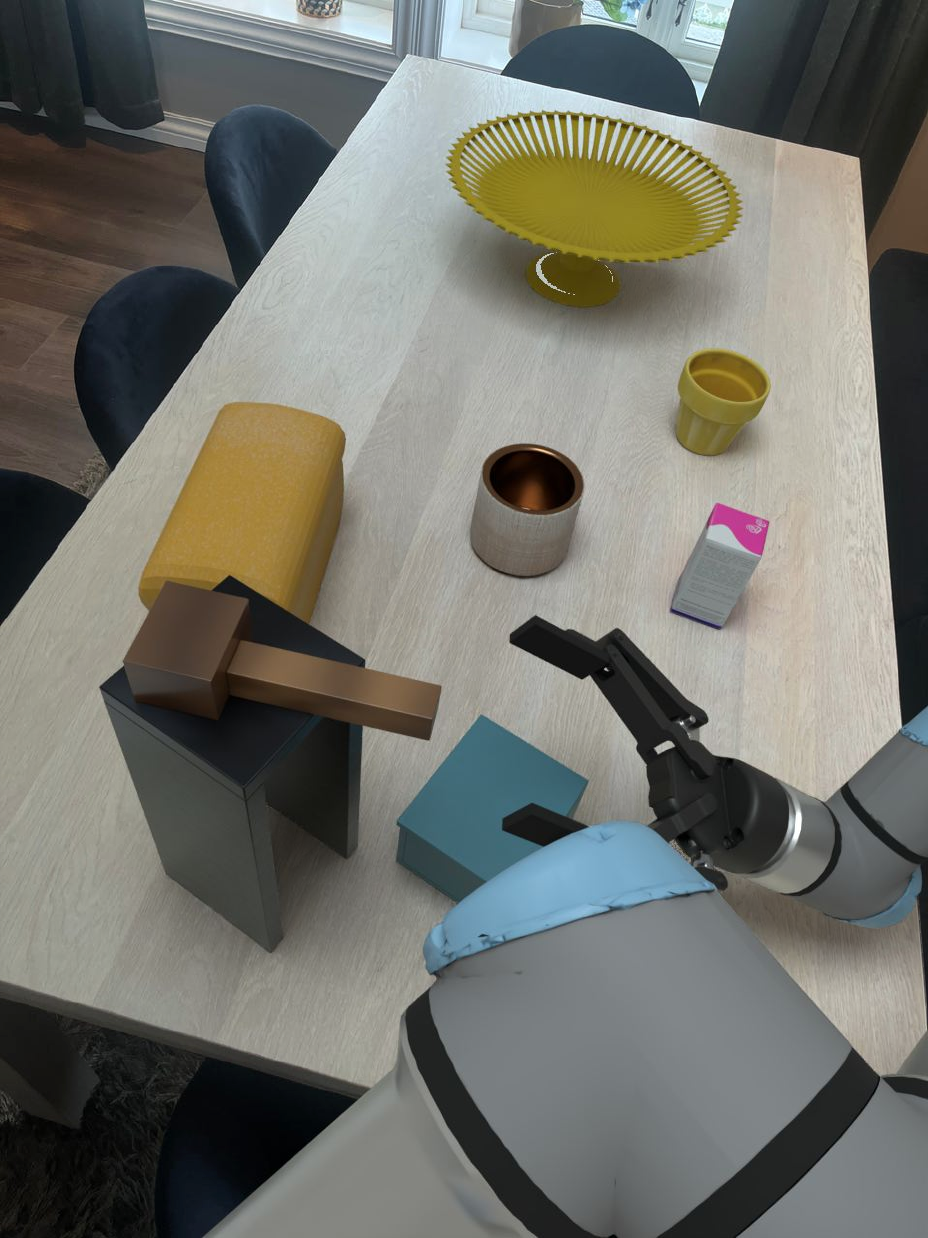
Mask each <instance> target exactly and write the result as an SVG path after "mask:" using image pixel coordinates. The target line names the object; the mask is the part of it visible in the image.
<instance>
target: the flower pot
mask: <svg viewBox="0 0 928 1238" xmlns="http://www.w3.org/2000/svg"><path fill="white" fill-rule="evenodd" d="M680 373H681V374H680V376H679V380H678V384H677V392H678V395H679V405H678V413H677V419H676V426H675V427H676V428H675V435H676V439H677V440H678V442H679V444H681V445H682V446H683V447H684V448H685V449H686V450H689V451H690V452H692V453H695V454H697V455H701V456H716V455H719V454H722V453H723V452H725V451H726V450H727V448H728V447H729V446H730V445H731V444H732V442H733V440H734V439H735V438H736V437H737V435H738V434H739V433H740V432H741V431H742V430H743V428H744V427H745V425H746V424H747V423H749V422H751V421H753V420H754V419H755V418H757V416H758V415H759V414H760V412H761V410H762V409H763V407H764V405H765V404H766V401H767V399H768V397H769V395H770V392H771V386H772V385H771V380H770V377H769V375H768V373H767V372H766V370H765V369H764V368H763V367H762V366H761V365H760V364H759V363H757V362H756V361H755V360H754V359H752V358H750V357H748V356H747V355H744V354H742V353H740V352H736V351H734V350H730V349H726V348H715V347H714V348H712V347H709V348H704V349H699V350H698V351H695V352H694V353H692V354H690V355H689V357H688V358H687V359H686V361H685V363H684V365H683V368H682V371H681V372H680Z"/></svg>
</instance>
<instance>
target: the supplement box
mask: <svg viewBox="0 0 928 1238" xmlns="http://www.w3.org/2000/svg"><path fill="white" fill-rule="evenodd" d="M769 527H770V520H768V519H765V518H763V517H760V516H756V515H754V514H750V513H747V512H745V511H742V510H740V509H736V508H733V507H730V506H728V505H725V504H722V503H720V502H716V503H715V504H714V506H713V508H712V510H711V512H710V514H709V516H708V518H707V520H706V522H705V525H704V527H703V529H702V530H701V533H700V535H699V537H698V539H697V541H696V543H695V546H694V548H693V550H692V552H691V554H690V555H689V556H688V560H687V562H686V564H685V566H684V568H683V570H682V572H681V574H680V576H679V578H678V580H677V584H676V587H675V591H674V593H673V597H672V601H671V604H670V608H669V612H670V613H673V614H674V615H677V616H680V617H683V618H686V619H689V620H692V621H695V622H698V623H700V624H702V625H706V626H709V627H711V628H714V629H717V630H721V629H722V628H723V627H724V625H725V623H726V621H727V620H728V618H729V617H730V614H732V611H733V610H734V607H735V605H736V604H737V602H738V600H739V599H740V597H741V595H742V593H743V592H744V590H745V588H746V586H747V584H748V583H749V581H750V579H751V578H752V576H753V574H754V572H755V571H756V568H757V567H758V565H759V563H760V561H761V560H762V557H763V554H764V550H765V544H766V540H767V535H768V531H769Z"/></svg>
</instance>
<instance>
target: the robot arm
mask: <svg viewBox="0 0 928 1238" xmlns="http://www.w3.org/2000/svg"><path fill="white" fill-rule="evenodd" d="M508 641H509V644H510V645H512V646H514V647H516V648H518V649H519V650H522V651H524V652H526V653H529V654H530V655H532V656H534V657H536V658H538V659H539V660H542V661H544V662H546V663H548V664H550V665H552V666H554V667H556V668H558V669H560V670H562V671H564V672H566V673H567V674H570V675H572V676H574V677H575V678H577V679H579V680H582V681H583V680H584V679H586V678H588V677H589V676H590V678H591V679H592V680H593V682H594V684H595V685H596V686H597V688H598V689H599V691H600V692H601V693H602V694H603V696H604V697H605V699H606V700H607V702H608V703H609V704H610V706H611V707H612V709H613V710H614V711H615V713H616V715H617V716H618V718H619V719H620V720H621V721H622V723H623V725H624V726H625V727H626V729H627V730H628V732H629V733H630V734H631V735H632V737H633V738H634V740H635V741H636V747H635V750H636V752H637V754H638V755H639V757H640V758H641V759H642V761H643V762H644V764H645V765H646V766H645V769H646V778H647V782H648V786H649V788H648V796H647V798H648V807H649V808H651V809H652V812H653V814H654V816H655V817H656V819H654V820H652V822H650V823H648V824H647V825H645V824H642V823H641V822H640V823H639V822H635V821H630V820H611V821H606V822H601V823H597V824H593V825H591V826H590V825H587V824H585V823H582V822H580V821H577V820H575V819H573V818H572V819H570V818H568V817H566V816H563V815H561V814H558V813H556V812H554V811H551V810H549V809H546V808H544V807H542V806H539V805H537V804H535V803H530V804H528V805H526V806H525V807H523V808H521V809H519V810H517V811H515V812H514V813H512V814H510V815H508V816H506V817H504V818H502V831H505V832H507V833H510V834H512V835H515V836H517V837H520V838H522V839H525V840H528V841H530V842H533V843H535V844H538V845H540V846H543V848H541V849H539V850H537V851H536V852H534V853H532V854H530V855H529V856H527V857H525V858H523V859H522V860H520V861H518V862H517V863H515V864H513V865H512V866H510V867H509V868H507V869H505V870H504V871H502V872H501V873H499V874H498V875H496V876H495V877H493V878H492V879H491V880H489V881H488V882H486V883H485V884H483V885H482V886H480V887H479V888H478V889H476V890H475V891H474V892H472V893H471V894H470V895H468V896H467V897H466V898H464V899H463V900H462V901H461V902H459V903H457V904H455V906H453V907H452V908H451V909H450V910H449V911H448V912H446V914H445V915H444V917H443V919H442V921H441V922H439V923H438V924H437V925H435V926H434V927H433V928H432V929H431V930H429V932H428V933H427V935H426V937H425V939H424V942H423V946H422V954H423V958H424V960H425V970H426V972H427V973H428V974H429V976H434V977H435V978H436V979H435V981H434V982H433V983H432V984H431V985H430V987H428V989H425V991H424V992H423V993H422V994H421V995H419V996H418V997H417V998H416V999H415V1000H413V1002H411V1003H410V1004H409V1005H408V1006H407V1007H406V1009H405V1010H403V1012H402V1013H401V1015H400V1019H399V1025H398V1027H399V1028H398V1039H397V1040H398V1041H397V1053H396V1060H395V1063H394V1065H393V1069H391V1070H390V1071H389V1072H388V1073H387V1074H386V1075H384V1076H383V1077H382V1078H381V1079H380V1080H379V1081H378V1082H377V1083H375V1084H374V1085H373V1086H372V1087H371V1088H370V1089H368V1090H367V1091H366V1092H365V1093H364V1094H363V1095H362V1096H360V1097H359V1098H358V1099H357V1100H356V1101H355V1102H353V1104H351V1105H350V1106H349V1107H348V1108H347V1109H346V1110H345V1111H344V1112H342V1113H341V1114H340V1115H339V1116H338V1117H337V1118H336V1119H335V1120H333V1121H332V1122H331V1123H330V1124H329V1125H328V1126H326V1127H325V1129H323V1130H322V1131H321V1132H320V1133H319V1134H317V1136H315V1137H314V1138H313V1139H312V1140H311V1141H310V1142H308V1143H307V1144H306V1145H305V1146H304V1147H303V1148H302V1149H301V1150H299V1151H298V1152H297V1153H296V1154H295V1155H293V1157H292V1158H291V1159H290V1160H288V1161H287V1162H286V1163H285V1164H284V1165H282V1167H280V1168H279V1169H278V1170H277V1171H276V1172H275V1173H274V1174H272V1175H270V1177H269V1178H268V1179H266V1180H265V1181H264V1182H263V1183H262V1184H261V1185H260V1186H259V1187H258V1188H256V1190H254V1191H253V1192H252V1193H251V1194H250V1195H249V1196H247V1197H246V1198H245V1199H244V1200H243V1201H241V1203H240V1204H239V1205H237V1206H236V1207H235V1208H234V1209H233V1210H232V1211H231V1212H229V1213H228V1214H227V1215H226V1216H225V1217H224V1218H223V1219H222V1220H220V1221H219V1222H218V1223H217V1224H216V1225H215V1226H213V1227H212V1228H211V1229H210V1230H209V1231H208V1232H207V1233H206V1234H204V1235H203V1236H202V1237H201V1238H609V1237H610V1236H612V1235H615V1236H616V1237H617V1238H928V1028H927V1029H926V1031H925V1032H924V1034H923V1035H922V1036H921V1038H920V1039H919V1040H918V1042H917V1043H916V1044H915V1046H914V1047H913V1049H912V1050H911V1052H910V1053H909V1054H908V1056H907V1057H906V1058H905V1060H904V1061H903V1062H902V1064H901V1065H900V1067H899V1068H898V1070H897V1071H896V1072H895V1073H889V1074H883V1075H880V1074H879V1073H877V1072H876V1071H875V1070H874V1069H873V1068H872V1067H871V1065H869V1064H868V1062H867V1061H866V1060H865V1059H864V1058H863V1056H861V1054H860V1053H859V1052H858V1051H857V1050H856V1049H855V1048H854V1046H853V1045H852V1044H851V1042H850V1041H849V1040H848V1039H847V1038H846V1036H845V1035H844V1034H843V1033H842V1032H841V1031H840V1029H839V1028H837V1026H836V1025H835V1024H834V1023H833V1021H831V1020H830V1019H829V1017H828V1016H827V1015H826V1014H825V1013H824V1012H823V1010H821V1008H820V1007H819V1006H818V1005H817V1004H816V1003H815V1002H814V1000H813V999H811V997H810V996H809V995H808V993H806V991H804V990H803V988H802V987H801V986H800V985H799V984H798V983H797V981H796V980H795V979H794V978H793V977H792V976H791V974H790V973H788V971H787V970H786V969H785V968H784V967H783V965H782V964H781V963H780V961H778V960H777V958H775V956H774V955H773V954H772V953H771V952H770V950H769V949H768V948H767V947H766V946H765V945H764V944H763V942H762V941H761V940H760V939H759V938H758V937H757V935H756V934H755V933H754V931H752V929H751V928H750V927H749V926H748V925H747V924H746V923H745V922H744V921H743V919H742V918H741V916H739V915H738V913H737V912H736V911H735V910H734V909H733V908H732V906H731V905H730V904H729V903H728V902H727V900H726V899H725V898H724V897H723V895H721V894H720V892H724V891H726V890H727V889H728V888H729V882H728V879H727V877H726V875H725V874H724V873H723V872H722V871H725V872H727V873H731V874H734V875H736V876H738V877H740V878H743V879H745V880H747V881H749V882H751V883H754V884H757V885H758V886H761V887H763V888H766V889H768V890H770V891H773V892H775V893H778V894H780V895H782V896H784V897H786V898H789V899H791V900H793V901H796V902H797V903H799V904H802V905H805V906H807V907H809V908H811V909H814V910H816V911H818V912H819V913H821V914H822V915H824V916H825V917H828V918H830V919H833V920H838V921H840V922H842V923H843V922H844V923H847V924H850V925H853V926H859V927H862V928H867V929H876V930H877V929H885V928H888V927H891V926H893V925H896V924H898V923H900V922H902V921H903V920H904V919H906V917H908V915H909V914H910V913H911V912H912V911H913V909H914V908H915V904H916V901H917V900H918V897H919V894H920V893H921V891H922V886H923V875H922V870H921V866H922V865H923V864H925V862H927V861H928V705H927V706H926V707H925V708H924V709H922V710H921V711H920V712H919V713H918V714H917V715H916V716H915V717H913V718H912V719H911V720H910V721H909V722H908V723H906V724H904V725H902V726H901V727H900V728H899V729H898V731H897V732H896V733H895V734H894V735H892V737H891V738H890V739H889V740H888V741H887V742H886V743H885V744H884V745H882V746H881V748H880V749H878V751H877V752H876V753H875V754H874V755H873V756H872V757H870V759H869V760H867V762H865V763H864V764H863V765H862V766H861V767H860V768H859V769H858V770H857V771H856V772H855V773H854V774H853V775H852V776H851V777H850V778H849V779H848V780H847V781H846V782H845V783H844V784H843V785H842V786H840V787H839V788H838V789H837V790H836V791H835V792H834V793H833V794H832V795H831V796H830V797H829V798H827V800H826V801H823V800H821V799H819V798H817V797H814V796H812V795H810V794H808V793H806V792H804V791H802V790H800V789H798V788H797V787H794V786H793V785H791V784H789V783H787V782H785V781H783V780H781V779H780V778H777V777H774V776H773V775H772V774H771V775H770V774H769V773H767V772H765V771H763V770H762V769H760V768H758V767H755V766H753V765H751V764H750V763H748V762H745V761H743V760H741V759H738V758H735V757H730V756H729V757H727V756H720V755H715V754H713V753H712V752H711V751H710V750H709V749H708V748H707V747H706V746H705V745H704V744H703V743H702V742H701V739H700V736H701V735H700V728H701V727H703V726H705V725H707V724H708V723H709V721H710V720H709V716H708V714H707V713H706V711H705V710H704V709H703V708H701V707H700V706H698V705H697V704H695V703H693V702H692V701H690V700H689V699H687V698H686V696H684V694H683V693H682V692H681V691H680V690H678V688H677V687H676V686H675V685H674V684H673V683H672V682H671V681H670V680H669V679H668V678H667V677H666V676H665V674H664V673H663V672H662V671H661V670H660V669H659V668H658V667H657V666H656V665H655V664H654V663H653V662H652V661H651V659H649V658H648V657H647V656H646V654H645V653H644V652H643V651H642V650H641V649H640V648H639V647H638V646H637V645H636V644H635V643H634V642H633V641H632V640H631V638H630V637H628V635H627V634H626V632H624V631H623V630H622V629H620V628H619V627H615V628H613V629H612V630H610V631H609V632H608V633H606V634H604V635H603V636H602V637H600V638H598V639H597V640H594V639H592V638H591V637H588V636H586V635H584V634H583V633H581V632H579V631H577V630H575V629H572V628H567V629H563V628H561V627H559V626H557V625H555V624H553V623H551V622H550V621H548V620H546V619H544V618H542V617H540V616H538V615H537V614H534V615H533V616H532V617H530V618H529V619H528V620H526V621H525V622H523V623H522V624H521V625H519V627H517V628H516V629H514V630H513V631H512V632H510V633H509V640H508ZM606 669H607V670H606ZM666 742H671V743H672V744H673V745H674V746H672V747H670V748H668V749H666V750H664V751H662V752H660V753H658V752H657V750H656V749H655V748H656V747H659V746H660V745H663V744H665V743H666ZM672 841H674V842H675V843H676V845H677V846H678V848H680V850H681V851H682V852H683V854H684V855H686V856H687V857H689V858H690V862H688V861H687V860H686V859H685V858H684V857H683V856H682V855H681V854H680V853H679V852H678V851H677V850H676V849H675V848H673V846H672V845H671V844H670V842H672ZM715 867H716V868H718V869H720V870H722V871H720V870H716V869H715Z"/></svg>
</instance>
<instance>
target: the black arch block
mask: <svg viewBox="0 0 928 1238" xmlns="http://www.w3.org/2000/svg"><path fill="white" fill-rule="evenodd" d="M211 591H215V592H219V593H224V594H228V595H233V596H237V597H242V598H246V599H249V606H250V615H251V623H252V632H253V643H257V644H261V645H266V646H270V647H275V648H279V649H283V650H288V651H292V652H296V653H301V654H305V655H310V656H314V657H318V658H323V659H327V660H331V661H336V662H340V663H345V664H349V665H353V666H358V667H362V668H366V658H364V657H362V656H360V655H359V654H357V653H356V652H354V651H352V650H351V649H350V648H348V647H346V646H345V645H344V644H342V643H340V642H338V641H336V640H335V639H333V638H332V637H330V636H328V635H327V634H325V633H324V632H322V631H320V630H319V629H318V628H317V627H314V626H312V625H311V624H310V623H309V624H308V623H306V622H304V621H303V620H301V619H300V618H298V617H296V616H295V615H293V614H292V613H290V612H288V611H287V610H285V609H284V608H282V607H280V606H279V605H277V604H276V603H274V602H272V601H271V600H269V599H268V598H266V597H264V596H263V595H261V594H260V593H258V592H256V591H255V590H253V589H252V588H250V587H248V586H247V585H245V584H244V583H242V582H240V581H239V580H237V579H236V578H234V577H232V576H231V575H229V576H227V577H226V578H225V579H224V580H223V581H222V582H220V583H219V584H218V585H217V586H216V587H215V588H213V589H212V590H211ZM98 688H99V691H100V694H101V697H102V700H103V702H104V705H105V708H106V712H107V714H108V717H109V719H110V722H111V725H112V728H113V730H114V734H115V736H116V739H117V741H118V744H119V747H120V750H121V752H122V755H123V758H124V761H125V764H126V767H127V770H128V773H129V775H130V778H131V780H132V783H133V786H134V789H135V792H136V795H137V798H138V800H139V804H140V806H141V809H142V811H143V814H144V817H145V820H146V822H147V825H148V828H149V831H150V834H151V836H152V839H153V842H154V845H155V848H156V850H157V854H158V856H159V858H160V861H161V865H162V867H163V870H164V873H165V875H167V876H168V877H170V878H171V880H173V881H175V882H176V883H177V884H179V885H180V886H181V887H183V888H184V889H185V890H187V892H189V893H191V894H192V895H193V896H194V897H196V898H197V899H198V900H200V901H201V902H202V903H204V904H205V905H206V906H207V907H209V908H211V909H212V910H213V911H214V912H216V913H217V914H218V915H220V916H221V917H222V918H223V919H225V920H226V921H227V922H229V923H230V924H232V926H234V927H235V928H237V929H238V930H239V931H241V932H242V933H243V934H245V935H246V936H247V937H248V938H250V939H251V940H252V941H254V942H255V943H256V944H258V945H259V946H260V947H262V948H263V949H264V950H265V951H267V952H268V953H270V954H272V953H273V952H274V950H275V949H276V948H277V947H278V946H279V944H280V943H281V942H282V941H283V939H284V932H283V924H282V923H283V922H282V917H281V910H280V909H281V908H280V901H279V893H278V885H277V877H276V872H275V870H276V869H275V862H274V853H273V847H272V839H271V832H270V831H271V830H270V823H269V817H268V807H267V805H268V806H270V807H271V808H273V809H274V810H276V811H277V812H279V813H280V814H282V815H283V816H284V817H286V818H287V819H289V820H290V821H291V822H293V823H294V824H296V825H297V826H298V827H300V828H302V829H303V830H305V831H306V832H307V833H309V834H310V835H311V836H313V837H314V838H316V839H317V840H318V841H320V842H322V843H323V844H324V845H326V846H327V847H329V848H330V849H331V850H333V851H334V852H336V853H337V854H338V855H340V856H342V858H344V859H346V860H348V859H349V858H350V856H352V854H353V853H354V852H355V850H356V849H357V848H358V847H359V826H360V807H361V806H360V805H361V804H360V802H361V779H362V758H363V755H362V753H363V736H364V735H363V733H364V732H363V731H364V726H362V725H358V724H353V723H349V722H345V721H340V720H336V719H332V718H327V717H323V716H319V715H314V714H310V713H306V712H301V711H297V710H293V709H288V708H284V707H280V706H275V705H271V704H267V703H262V702H258V701H254V700H249V699H245V698H241V697H236V696H232V695H229V697H228V700H227V702H226V704H225V706H224V709H223V711H222V713H221V716H220V718H219V720H215V719H210V718H206V717H202V716H197V715H193V714H189V713H184V712H180V711H176V710H172V709H167V708H163V707H159V706H154V705H150V704H146V703H141V702H137V701H135V699H134V696H133V693H132V690H131V687H130V683H129V680H128V677H127V674H126V670H125V667H124V665H122V666H121V667H120V668H118V670H116V671H115V672H114V673H113V674H111V676H109V678H107V679H106V680H105V681H104V682H103V683H101V684H100V685H99V687H98Z"/></svg>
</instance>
